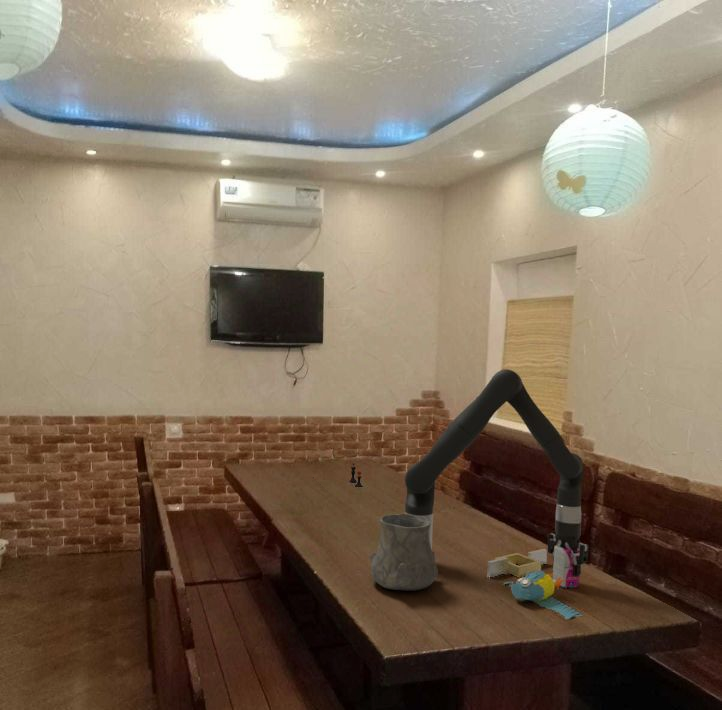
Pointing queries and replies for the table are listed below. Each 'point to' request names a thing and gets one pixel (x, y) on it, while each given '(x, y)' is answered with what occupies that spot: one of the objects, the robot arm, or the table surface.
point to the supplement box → (564, 567)
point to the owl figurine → (541, 592)
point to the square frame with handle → (509, 563)
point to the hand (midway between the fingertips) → (566, 572)
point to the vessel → (404, 553)
